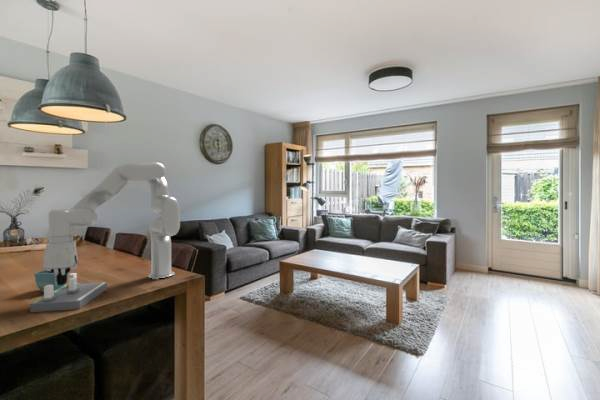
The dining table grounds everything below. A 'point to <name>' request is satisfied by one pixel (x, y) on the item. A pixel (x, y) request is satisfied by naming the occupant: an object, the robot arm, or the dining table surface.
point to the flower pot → (47, 279)
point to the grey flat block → (70, 298)
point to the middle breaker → (72, 285)
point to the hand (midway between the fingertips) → (61, 284)
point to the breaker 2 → (73, 275)
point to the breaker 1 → (48, 293)
